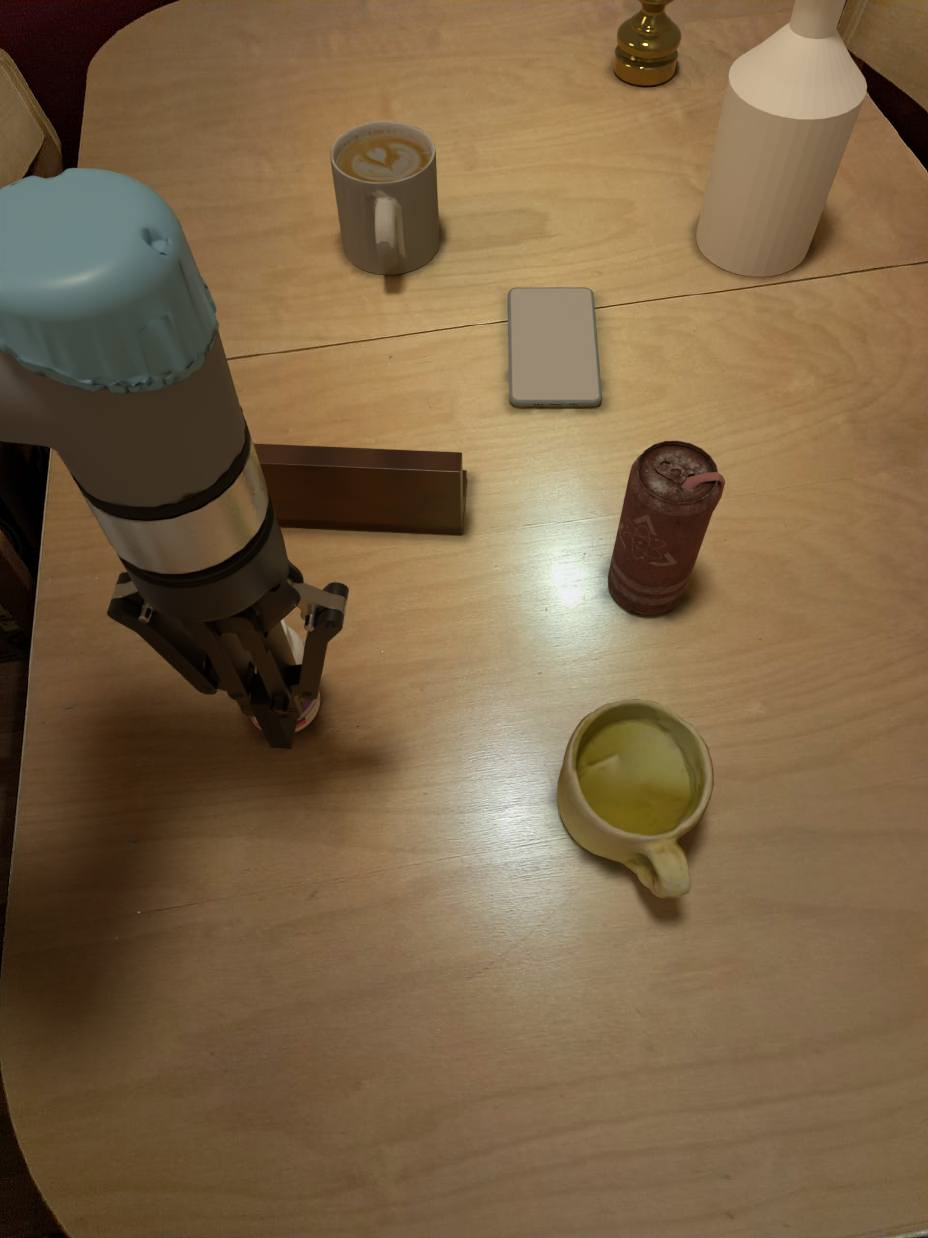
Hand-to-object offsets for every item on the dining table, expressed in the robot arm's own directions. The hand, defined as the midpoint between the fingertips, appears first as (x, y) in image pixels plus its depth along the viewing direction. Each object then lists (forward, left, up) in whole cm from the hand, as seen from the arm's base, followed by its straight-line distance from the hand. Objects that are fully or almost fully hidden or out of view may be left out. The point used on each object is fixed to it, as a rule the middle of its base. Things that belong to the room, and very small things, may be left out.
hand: (284, 730), depth 64 cm
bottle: (+38, +59, -4) cm, 70 cm away
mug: (+24, -4, -4) cm, 24 cm away
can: (+26, +16, -4) cm, 31 cm away
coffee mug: (+1, +55, -4) cm, 55 cm away
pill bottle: (-1, +4, -4) cm, 6 cm away
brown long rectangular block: (0, +23, -4) cm, 23 cm away
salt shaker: (+28, +90, -4) cm, 94 cm away
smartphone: (+18, +42, -4) cm, 46 cm away
